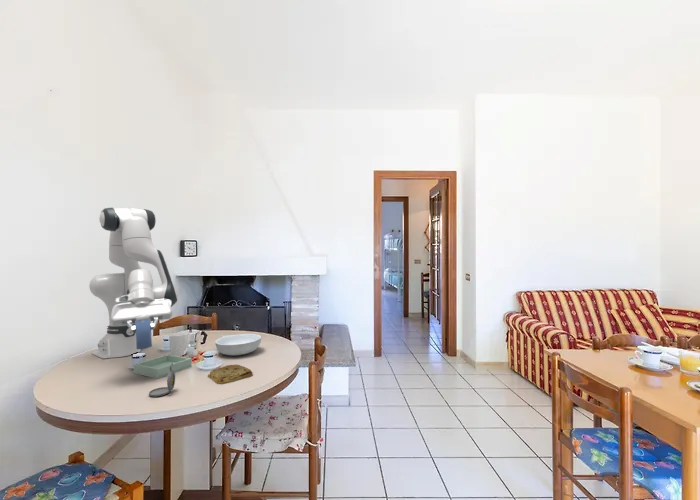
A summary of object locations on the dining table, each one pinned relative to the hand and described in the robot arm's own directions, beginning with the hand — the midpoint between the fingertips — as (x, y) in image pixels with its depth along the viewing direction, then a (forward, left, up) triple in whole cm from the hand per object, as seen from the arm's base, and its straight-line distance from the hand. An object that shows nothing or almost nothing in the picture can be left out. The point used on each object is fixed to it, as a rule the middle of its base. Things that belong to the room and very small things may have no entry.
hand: (143, 330), depth 130 cm
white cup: (-18, +29, -19) cm, 39 cm away
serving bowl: (+6, +43, -20) cm, 47 cm away
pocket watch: (+17, -4, -19) cm, 27 cm away
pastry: (+25, +18, -20) cm, 37 cm away
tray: (-5, +12, -19) cm, 23 cm away
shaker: (0, +1, -7) cm, 7 cm away
